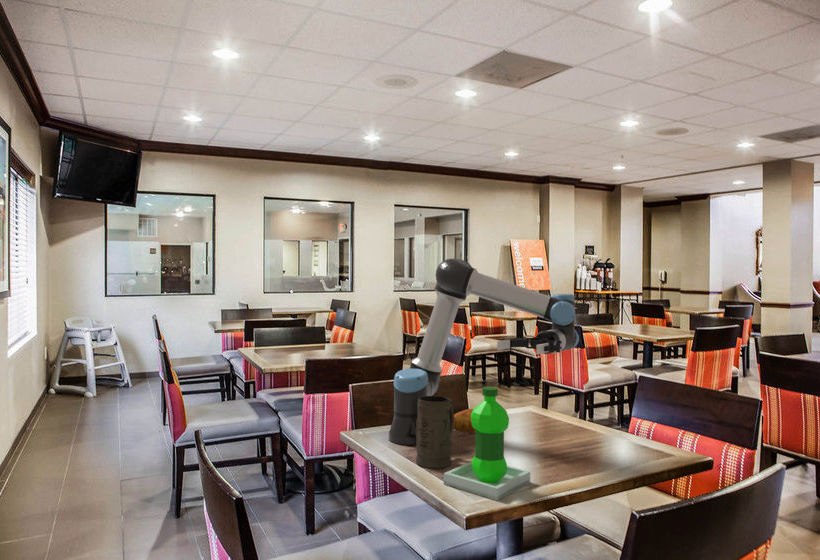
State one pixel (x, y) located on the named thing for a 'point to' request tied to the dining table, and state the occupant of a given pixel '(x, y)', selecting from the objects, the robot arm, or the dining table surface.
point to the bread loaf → (463, 421)
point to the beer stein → (434, 431)
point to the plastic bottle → (489, 437)
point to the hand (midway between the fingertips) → (517, 347)
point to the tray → (471, 483)
